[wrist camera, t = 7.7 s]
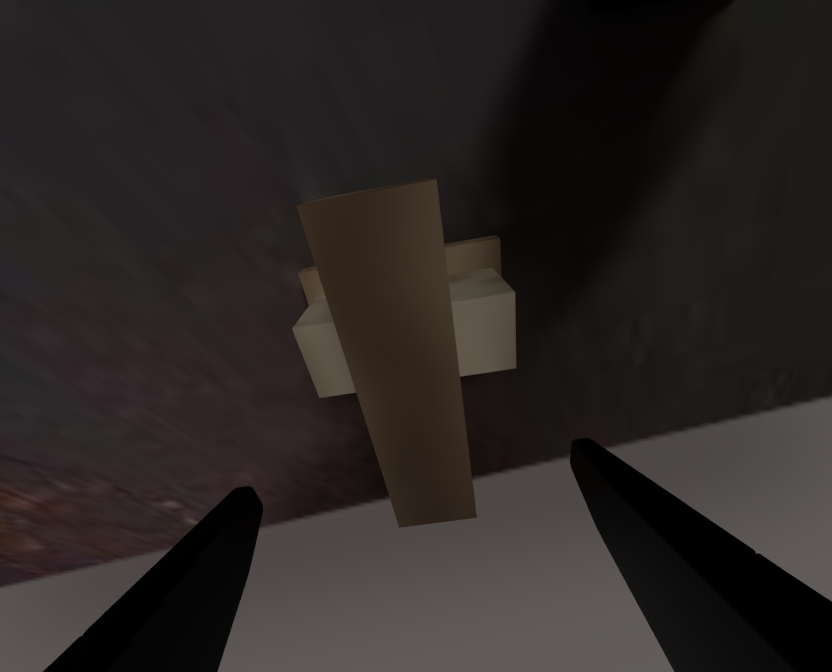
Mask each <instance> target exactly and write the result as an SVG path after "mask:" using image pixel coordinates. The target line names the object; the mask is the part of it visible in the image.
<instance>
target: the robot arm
mask: <svg viewBox="0 0 832 672" xmlns="http://www.w3.org/2000/svg"><path fill="white" fill-rule="evenodd" d="M660 1H665V0H608V1H606V0H591V6H592V9H593V11H595V12H596V13H601V14H602V13H607V12H612V11H616V10H621V9H626V8H631V7H636V6H641V5H646V4H651V3H655V2H660ZM570 464H571V468H572V471H573V473H574V476H575V478H576V480H577V483H578V485H579V487H580V490H581V492H582V495H583V497H584V499H585V501H586V504H587V506H588V509H589V511H590V513H591V516H592V518H593V520H594V523H595V525H596V527H597V529H598V531H599V533H600V535H601V537H602V539H603V541H604V543H605V544H606V546H607V548H608V550H609V552H610V554H611V556H612V557H613V559H614V561H615V563H616V565H617V567H618V568H619V570H620V572H621V574H622V576H623V578H624V579H625V581H626V583H627V585H628V587H629V589H630V591H631V592H632V594H633V596H634V598H635V600H636V602H637V604H638V605H639V607H640V609H641V611H642V613H643V615H644V616H645V618H646V620H647V622H648V624H649V626H650V628H651V629H652V631H653V633H654V635H655V637H656V638H657V640H658V642H659V644H660V646H661V648H662V650H663V652H664V653H665V655H666V657H667V659H668V661H669V663H670V664H671V666H672V668H673V670H674V672H832V601H830V600H829V599H827V598H825V597H824V596H822V595H821V594H819V593H818V592H816V591H815V590H813V589H811V588H810V587H809V586H807V585H806V584H804V583H803V582H801V581H800V580H798V579H797V578H795V577H794V576H792V575H790V574H789V573H787V572H786V571H784V570H783V569H781V568H780V567H779V566H777V565H775V564H774V563H773V562H771V561H770V560H768V559H767V558H765V557H764V556H762V555H761V554H756V552H755V551H754V550H753V549H752V548H750V547H749V546H747V545H746V544H744V543H743V542H741V541H740V540H739V539H737V538H736V537H734V536H733V535H731V534H730V533H728V532H727V531H725V530H724V529H722V528H721V527H719V526H718V525H716V524H715V523H713V522H712V521H710V520H709V519H708V518H706V517H705V516H703V515H702V514H700V513H699V512H697V511H696V510H694V509H693V508H691V507H690V506H688V505H687V504H686V503H684V502H682V501H681V500H680V499H678V498H677V497H675V496H674V495H672V494H671V493H669V492H668V491H666V490H665V489H663V488H662V487H661V486H659V485H657V484H656V483H654V482H653V481H652V480H650V479H649V478H647V477H645V476H644V475H643V474H641V473H640V472H638V471H637V470H635V469H634V468H632V467H631V466H630V465H628V464H627V463H625V462H624V461H622V460H621V459H619V458H618V457H616V456H615V455H613V454H612V453H610V452H609V451H607V450H606V449H605V448H603V447H602V446H600V445H599V444H597V443H596V442H594V441H593V440H591V439H589V438H582V439H575V440H573V441H572V445H571V455H570ZM262 514H263V505H262V502H261V500H260V499H259V497H258V496H257V494H256V492H255V491H254V489H253V488H252V487H250V486H245V487H239V488H235V489H234V490H233V491H231V492H230V493H229V494H228V495H227V496H226V497H225V498H224V499H223V500H222V501H221V502H220V503H219V504H218V505H217V506H216V507H215V508H214V509H213V510H212V511H210V512H209V513H208V514H207V515H206V516H205V517H204V518H203V519H202V520H201V521H200V522H199V523H198V524H197V525H196V526H195V527H194V528H193V529H192V530H191V531H190V532H189V533H188V534H186V535H185V536H184V537H183V538H182V539H181V540H180V541H179V542H178V543H177V544H176V545H175V546H174V547H173V548H172V549H171V550H170V551H169V552H168V553H167V554H166V555H165V556H164V557H162V559H160V560H159V561H158V562H157V563H156V564H155V565H154V566H153V567H152V568H151V569H150V570H149V571H148V572H147V573H146V574H145V575H144V576H143V577H142V578H141V579H140V580H139V581H137V582H136V584H134V585H133V586H132V587H131V588H130V589H129V590H128V591H127V592H126V593H125V594H124V595H123V596H122V597H121V598H120V599H119V600H118V601H117V602H116V603H114V604H113V605H112V606H111V607H110V608H109V610H107V611H106V612H105V613H104V614H103V615H102V616H101V617H100V618H99V619H98V620H97V621H96V622H95V623H94V624H93V625H92V626H90V627H89V628H88V629H87V630H86V631H85V633H84V634H83V636H81V637H79V638H78V639H77V640H76V641H75V642H74V643H73V644H72V645H71V646H70V647H68V648H67V649H66V650H65V651H64V652H63V653H62V654H61V655H60V656H59V657H58V658H57V659H56V660H55V661H54V662H53V663H52V664H51V665H50V666H48V667H47V668H46V669H45V670H44V671H43V672H217V671H218V668H219V665H220V662H221V659H222V656H223V653H224V649H225V646H226V643H227V640H228V637H229V634H230V631H231V628H232V624H233V621H234V618H235V615H236V612H237V609H238V606H239V603H240V600H241V596H242V593H243V590H244V587H245V584H246V580H247V577H248V574H249V570H250V566H251V562H252V558H253V553H254V549H255V545H256V540H257V536H258V531H259V527H260V522H261V518H262Z"/></svg>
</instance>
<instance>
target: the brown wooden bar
mask: <svg viewBox="0 0 832 672" xmlns="http://www.w3.org/2000/svg"><path fill="white" fill-rule="evenodd" d="M296 206H297V209H298V212H299V215H300V218H301V222H302V225H303V228H304V231H305V234H306V237H307V240H308V243H309V247H310V250H311V253H312V256H313V259H314V262H315V265H316V268H317V272H318V275H319V278H320V281H321V284H322V287H323V290H324V293H325V297H326V300H327V303H328V306H329V309H330V312H331V315H332V318H333V322H334V325H335V328H336V331H337V334H338V337H339V340H340V343H341V346H342V350H343V353H344V356H345V359H346V362H347V365H348V368H349V371H350V375H351V378H352V381H353V384H354V387H355V390H356V393H357V396H358V400H359V403H360V406H361V409H362V412H363V415H364V418H365V421H366V425H367V428H368V431H369V434H370V437H371V440H372V443H373V446H374V450H375V453H376V456H377V459H378V462H379V465H380V468H381V471H382V474H383V478H384V481H385V484H386V487H387V490H388V493H389V496H390V499H391V502H392V506H393V509H394V512H395V515H396V518H397V521H398V524H399V527H407V526H415V525H422V524H430V523H438V522H446V521H453V520H461V519H469V518H476V517H477V516H476V508H475V499H474V491H473V483H472V474H471V466H470V457H469V449H468V440H467V432H466V424H465V415H464V407H463V398H462V390H461V381H460V373H459V365H458V356H457V348H456V339H455V331H454V323H453V314H452V306H451V297H450V289H449V280H448V272H447V264H446V255H445V247H444V238H443V230H442V221H441V213H440V205H439V196H438V188H437V180H436V179H427V178H426V179H421V180H416V181H410V182H405V183H399V184H394V185H389V186H383V187H378V188H372V189H367V190H362V191H356V192H351V193H345V194H340V195H334V196H330V197H326V198H322V199H318V200H315V201H311V202H307V203H304V204H300V205H296Z"/></svg>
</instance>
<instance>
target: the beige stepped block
mask: <svg viewBox="0 0 832 672" xmlns="http://www.w3.org/2000/svg"><path fill="white" fill-rule="evenodd" d="M444 247H445V255H446V264H447V272H448V280H449V289H450V297H451V306H452V314H453V323H454V331H455V339H456V348H457V356H458V365H459V373H460V377H461V376H468V375H474V374H481V373H487V372H494V371H500V370H507V369H514V368H516V315H515V291H514V290H513V289H512V288H511V287H510V286H509V285H508V284H507V283H506V282H505V281H504V280H503V279H502V275H501V246H500V238H499V237H498V236H496V235H492V236H486V237H481V238H475V239H469V240H463V241H458V242H452V243H446V244H444ZM298 275H299V278H300V281H301V284H302V287H303V290H304V292H305V295H306V298H307V301H308V304H309V307H308V308H307V309H306V311H305V312H304V313H303V315H302V316H301V318H300V319H299V320H298V322H297V323H296V324H295V326H294V327H293V328H292V329H293V332H294V335H295V337H296V340H297V342H298V345H299V347H300V350H301V352H302V355H303V357H304V360H305V362H306V365H307V367H308V370H309V373H310V375H311V378H312V380H313V383H314V385H315V388H316V390H317V393H318V395H319V398H323V397H330V396H336V395H343V394H350V393H356V390H355V387H354V384H353V381H352V378H351V375H350V371H349V368H348V365H347V362H346V359H345V356H344V353H343V350H342V346H341V343H340V340H339V337H338V334H337V331H336V328H335V325H334V322H333V318H332V315H331V312H330V309H329V306H328V303H327V300H326V297H325V293H324V290H323V287H322V284H321V281H320V278H319V275H318V272H317V268H316V266H314V267H308V268H303V269H302V270H301V271H300V272H299V273H298Z"/></svg>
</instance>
